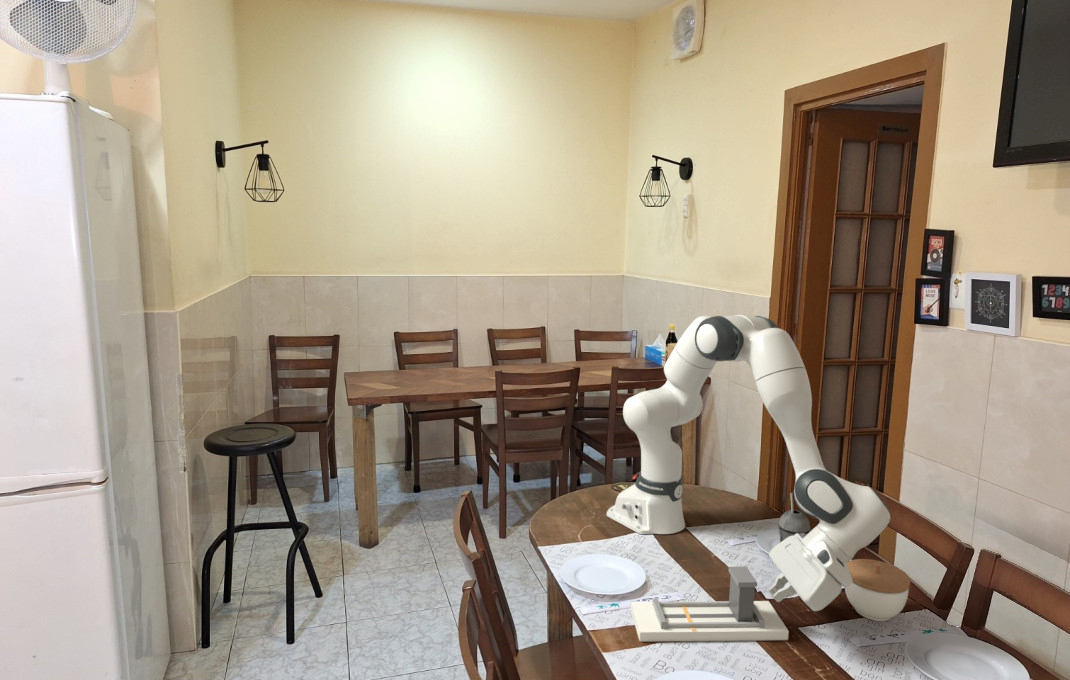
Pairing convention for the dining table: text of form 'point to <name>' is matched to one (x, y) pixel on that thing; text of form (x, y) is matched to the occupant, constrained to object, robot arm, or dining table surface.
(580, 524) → the dining table surface
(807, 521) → the beverage cup
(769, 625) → the fader console
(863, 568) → the lidded bowl
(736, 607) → the fader tab
